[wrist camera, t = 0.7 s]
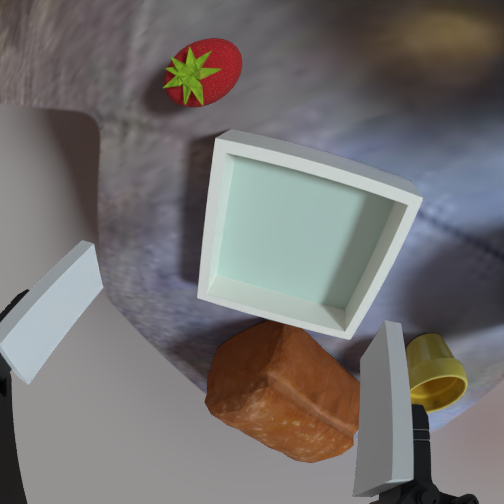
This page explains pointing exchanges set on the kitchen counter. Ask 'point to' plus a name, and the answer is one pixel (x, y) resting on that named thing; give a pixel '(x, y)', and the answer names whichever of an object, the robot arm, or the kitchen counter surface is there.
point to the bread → (284, 392)
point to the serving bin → (300, 232)
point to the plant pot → (434, 373)
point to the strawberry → (203, 72)
